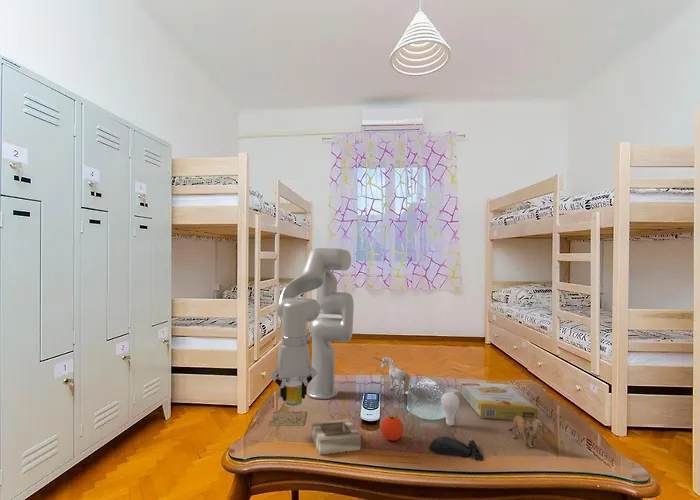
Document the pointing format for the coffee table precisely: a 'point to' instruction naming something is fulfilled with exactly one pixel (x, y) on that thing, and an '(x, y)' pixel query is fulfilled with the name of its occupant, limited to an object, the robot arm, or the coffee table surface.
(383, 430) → the clementine
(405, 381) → the unicorn figurine
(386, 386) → the coffee table surface
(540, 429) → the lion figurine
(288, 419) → the cookie
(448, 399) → the lightbulb
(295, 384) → the supplement bottle
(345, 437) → the socket block
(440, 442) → the black computer mouse
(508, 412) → the cereal box
